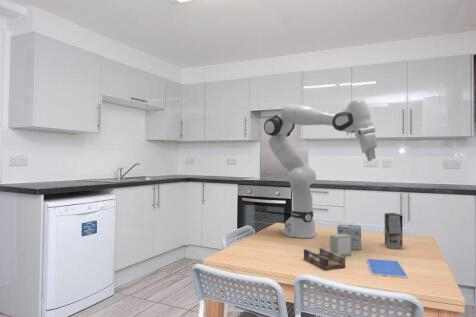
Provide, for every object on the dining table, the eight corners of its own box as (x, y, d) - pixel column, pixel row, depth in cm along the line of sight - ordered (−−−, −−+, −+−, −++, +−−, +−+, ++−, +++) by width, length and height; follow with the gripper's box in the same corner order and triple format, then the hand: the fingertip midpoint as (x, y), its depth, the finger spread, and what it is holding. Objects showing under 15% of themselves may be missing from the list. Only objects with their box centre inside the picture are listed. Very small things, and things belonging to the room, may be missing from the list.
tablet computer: (408, 280, 116) (408, 276, 116) (371, 276, 120) (371, 273, 120) (398, 264, 135) (398, 260, 135) (366, 261, 138) (366, 258, 138)
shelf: (303, 258, 139) (303, 249, 140) (321, 256, 143) (321, 247, 143) (325, 270, 124) (325, 260, 125) (345, 267, 128) (345, 257, 128)
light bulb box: (361, 247, 160) (361, 225, 160) (360, 250, 154) (360, 227, 154) (338, 244, 164) (338, 223, 164) (337, 247, 158) (337, 225, 158)
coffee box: (403, 249, 156) (403, 215, 156) (388, 248, 157) (388, 215, 157) (397, 244, 165) (397, 212, 165) (384, 243, 166) (384, 212, 166)
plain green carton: (330, 254, 146) (330, 234, 146) (344, 253, 149) (344, 233, 149) (336, 257, 141) (336, 237, 142) (351, 256, 144) (351, 235, 144)
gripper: (355, 137, 167) (361, 163, 165) (361, 129, 148) (368, 159, 146) (367, 134, 166) (374, 160, 164) (375, 126, 146) (383, 156, 144)
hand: (371, 159), depth 155 cm, fingers open, 8 cm apart
